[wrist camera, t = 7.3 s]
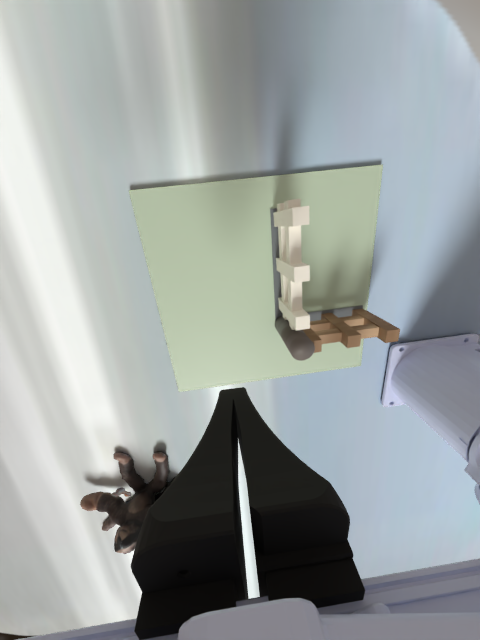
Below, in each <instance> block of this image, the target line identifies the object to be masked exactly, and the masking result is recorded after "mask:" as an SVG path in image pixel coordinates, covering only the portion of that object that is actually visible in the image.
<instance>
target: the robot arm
mask: <svg viewBox="0 0 480 640" xmlns="http://www.w3.org/2000/svg"><path fill="white" fill-rule="evenodd" d="M479 339H480V336H479V335H478V334H475V333H472V334H465V335H458V336H451V337H444V338H436V339H429V340H422V341H415V342H408V343H401V344H395V345H392V346H391V348H390V351H389V358H388V364H387V370H386V376H385V383H384V389H383V395H382V401H381V404H382V405H383V406H384V407H391V406H398V405H404V404H406V405H407V406H408V407H409V408H410V409H411V410H412V411H413V412H414V413H415V414H417V415H418V416H419V417H420V418H421V419H422V420H423V421H424V422H425V423H426V424H427V425H428V426H429V427H430V428H432V429H433V430H434V431H435V432H436V433H437V434H438V435H439V436H440V437H441V438H442V439H443V440H444V441H445V442H447V443H448V444H449V445H450V446H451V447H452V448H453V449H454V450H455V451H456V452H457V453H458V454H459V455H460V456H461V457H463V458H464V459H465V460H466V461H467V462H468V465H467V467H466V468H465V472H466V473H467V474H468V475H469V476H470V477H471V478H472V479H474V480H475V481H476V482H477V484H476V486H475V495H476V498H477V500H478V502H479V504H480V344H478V342H479ZM400 348H401V349H400ZM399 349H400V350H399ZM238 439H239V444H240V449H241V455H242V460H243V465H244V470H245V475H246V481H247V488H248V497H249V506H250V514H251V523H252V531H253V540H254V549H255V557H256V566H257V575H258V583H259V592H260V597H257V598H251V599H248V590H247V579H246V568H245V557H244V546H243V535H242V523H241V512H240V500H239V488H238ZM349 525H350V518H349V515H348V513H347V510H346V508H345V506H344V504H343V503H342V501H341V499H340V497H339V496H338V494H337V493H336V491H335V490H334V488H333V487H332V485H331V484H330V482H329V481H327V480H326V479H324V478H323V477H321V476H320V475H319V474H317V473H316V472H315V471H313V470H312V469H311V468H310V467H308V466H307V465H306V464H305V463H304V462H302V461H301V460H300V459H299V458H298V457H297V456H296V455H295V454H293V453H292V452H291V451H290V450H289V449H288V448H287V447H286V446H285V445H284V444H283V443H282V442H281V441H280V440H279V439H278V438H277V436H276V435H275V434H274V433H273V432H272V431H271V429H270V428H269V427H268V426H267V424H266V423H265V422H264V420H263V419H262V418H261V416H260V415H259V413H258V412H257V410H256V409H255V407H254V405H253V404H252V402H251V400H250V398H249V396H248V394H247V391H246V389H245V388H244V387H243V388H235V389H227V390H221V391H220V393H219V398H218V401H217V404H216V407H215V410H214V413H213V415H212V418H211V420H210V422H209V425H208V427H207V429H206V431H205V433H204V435H203V437H202V439H201V441H200V442H199V444H198V446H197V448H196V449H195V451H194V453H193V454H192V456H191V457H190V459H189V460H188V462H187V463H186V465H185V466H184V468H183V469H182V470H181V472H180V473H179V474H178V475H177V477H176V478H175V479H174V481H173V482H172V483H171V485H170V486H169V487H168V488H167V489H166V491H165V492H164V493H163V494H162V495H161V496H160V497H159V498H158V500H157V501H156V502H155V503H154V504H153V505H152V506H151V507H150V508H149V510H148V512H147V514H146V517H145V519H144V522H143V524H142V527H141V530H140V532H139V536H138V539H137V543H136V547H135V551H134V555H133V559H132V563H131V569H132V572H133V574H134V576H135V578H136V580H137V582H138V584H139V586H140V588H141V590H142V596H141V601H140V606H139V611H138V616H137V619H131V620H126V621H120V622H114V623H108V624H103V625H97V626H91V627H86V628H80V629H74V630H68V631H63V632H57V633H51V634H46V635H40V636H34V637H28V638H23V639H17V640H480V559H474V560H469V561H463V562H457V563H452V564H446V565H440V566H434V567H429V568H423V569H417V570H411V571H406V572H400V573H394V574H389V575H383V576H377V577H371V578H366V579H361V578H360V576H359V573H358V571H357V568H356V566H355V563H354V561H353V559H352V558H353V552H352V550H351V547H350V545H349V542H348V540H347V538H348V532H349Z"/></svg>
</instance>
